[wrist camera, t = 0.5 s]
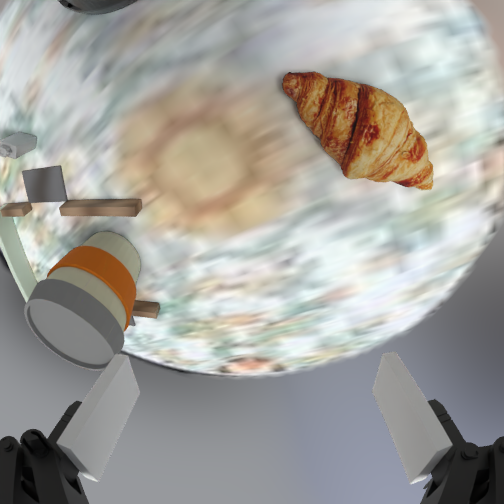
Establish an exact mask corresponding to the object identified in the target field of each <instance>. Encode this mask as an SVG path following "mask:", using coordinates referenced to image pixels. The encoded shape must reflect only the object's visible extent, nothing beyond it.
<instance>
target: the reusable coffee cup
mask: <svg viewBox="0 0 504 504" xmlns="http://www.w3.org/2000/svg"><path fill="white" fill-rule="evenodd" d="M140 267H141V263H140V258H139V255H138V253H137V251H136V249H135V248H134V247H133V245H132V244H131V243H130V242H129V241H128V240H127V239H125V238H124V237H122V236H120V235H118V234H116V233H113V232H107V231H103V232H98V233H96V234H94V235H93V236H91V237H90V238H89V239H88V240H87V241H86V242H85V243H83V244H82V245H81V246H79V247H76V248H74V249H72V250H71V251H70V252H69V253H68V254H67V255H65V256H64V257H63V258H62V259H61V260H60V261H59V262H58V263H57V264H56V265H55V266H54V267H53V268H52V269H50V271H49V273H48V275H47V278H46V279H45V280H42V281H40V282H39V283H38V284H37V285H36V286H35V288H34V290H33V292H32V294H31V295H30V297H29V299H28V301H27V303H26V305H25V309H24V313H25V318H26V320H27V323H28V325H29V327H30V329H31V330H32V332H33V333H34V334H35V335H36V337H37V338H38V339H39V340H40V341H41V342H42V343H43V345H45V346H46V347H47V348H48V349H49V350H50V351H52V352H53V353H54V354H56V355H57V356H59V357H60V358H62V359H63V360H65V361H67V362H69V363H71V364H74V365H75V366H78V367H81V368H84V369H87V370H93V371H104V370H105V368H106V367H107V366H108V364H109V363H110V361H111V360H112V358H113V357H114V356H115V354H119V353H120V351H121V349H122V347H123V345H124V334H123V333H124V331H125V330H126V329H127V327H128V326H129V322H130V318H131V314H132V310H133V305H134V301H135V298H136V282H137V279H138V275H139V272H140Z"/></svg>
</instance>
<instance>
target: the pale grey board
mask: <svg viewBox="0 0 504 504" xmlns="http://www.w3.org/2000/svg"><path fill="white" fill-rule="evenodd" d="M6 205H7V204H4V205H2V206H1V207H0V210H1V209H2V208H4V207H5V206H6ZM0 246H1V249H2V251H3V254H4V256H5V259H6V261H7V263H8V266H9V268H10V270H11V272H12V274H13V277H14V279H15V281H16V283H17V285H18V287H19V289H20V291H21V293H22V295H23V297H24V298H25V301H26V302H27V301H28V299H29V297H30V295H31V294H32V292H33V290H34V288H35V286H36V285H37V284H38V283H37V281H36V279H35V276H34V274H33V272H32V269H31V267H30V265H29V262H28V260H27V257H26V255H25V252H24V250H23V247H22V244H21V242H20V239H19V236H18V233H17V230H16V227H15V224H14V221H13V218H12V217H2V214H1V211H0Z"/></svg>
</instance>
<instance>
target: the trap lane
mask: <svg viewBox="0 0 504 504" xmlns="http://www.w3.org/2000/svg"><path fill="white" fill-rule="evenodd" d="M22 174H23V179H24V184H25V188H26V192H27V196H28V200H29V202H24V203H9V204H7V205H6V206H5V207H4V208H2V209H1V210H0V211H1V214H2V217H16V216H25V215H26V214H27V213H28V212H30V211H31V210H32V207H31V203H38V202H61V201H66V202H65V203H64V204H63V205H62V206H60V207H59V209H60V213H61V216H128V217H136V216H137V214H138V213H139V212H140V210H141V209H142V203H141V199H101V200H67V195H66V191H65V186H64V181H63V175H62V169H61V166H54V167H47V168H40V169H33V170H27V171H23V172H22ZM159 310H160V306H159V303H155V302H145V301H136V300H135V301H134V305H133V310H132V314H131V318H130V322H129V325H131V326H135V322H134V319H133V316H140V317H148V318H156V319H157V316H158V313H159Z"/></svg>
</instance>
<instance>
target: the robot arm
mask: <svg viewBox="0 0 504 504" xmlns="http://www.w3.org/2000/svg"><path fill="white" fill-rule="evenodd" d="M58 1H59V2H60V3H61V4H62V5H63V6H64V7H66V8H67V9H69V10H72V11H75V12H80V13H84V14H103V13H108V12H112V11H115V10H118V9H120V8H123V7H125V6H127V5H129V4H131V3H133V2H135V1H137V0H58ZM372 393H373V395H374V397H375V399H376V402H377V404H378V406H379V409H380V411H381V413H382V415H383V418H384V420H385V422H386V425H387V427H388V430H389V432H390V434H391V437H392V439H393V442H394V444H395V447H396V449H397V452H398V454H399V457H400V459H401V461H402V464H403V467H404V469H405V472H406V475H407V477H408V480H409V483H410V484H413V483H415V482H418V481H421V480H424V479H425V478H426V477H427V476H428V475H429V474H430V473H431V475H432V477H433V478H432V479H431V480H430V481H429V482H428V483H427V484H426V485H425V487H424V488H423V489H426V488H427V490H426V492H425V494H424V497H423V499H422V501H421V503H420V504H504V436H503V437H500V438H498V439H497V440H496V441H495V442H494V444H493V445H489V446H484V447H478V446H476V445H475V444H473V443H468V442H466V441H465V440H464V439H463V437H462V435H461V434H460V432H459V430H458V429H457V427H456V425H455V424H454V422H453V420H451V417H450V416H449V414H447V411H446V410H445V408H444V406H443V405H442V404H441V403H439V402H438V401H437V400H435V399H434V400H430V401H427V400H426V398H425V397H424V395H423V394H422V392H421V390H420V389H419V387H418V385H417V384H416V382H415V381H414V379H413V378H412V376H411V375H410V373H409V371H408V370H407V368H406V367H405V365H404V364H403V362H402V361H401V359H400V358H399V356H398V355H397V353H396V352H390V353H383V355H382V358H381V362H380V366H379V369H378V373H377V377H376V380H375V383H374V386H373V389H372ZM139 394H140V391H139V388H138V385H137V382H136V379H135V376H134V373H133V370H132V367H131V364H130V361H129V358H128V355H120V354H115V356H114V357H113V358H112V360H111V361H110V363H109V364H108V366H107V367H106V368H105V370H104V371H103V373H102V374H101V376H100V377H99V379H98V380H97V381H96V383H95V384H94V386H93V387H92V389H91V390H90V392H89V393H88V395H87V396H86V398H85V399H84V401H83V402H79V401H76V402H74V403H73V404H72V405H70V406H69V407H68V409H67V410H66V412H65V413H64V415H63V416H62V418H61V420H60V421H59V422H58V424H57V425H56V426H55V428H54V430H53V431H52V433H51V434H50V436H49V437H48V439H46V437H45V436H44V435H43V433H42V432H41V431H39V430H36V429H30V430H27V431H26V432H25V433H23V435H22V436H21V439H20V443H21V444H19V443H18V441H17V440H16V439H15V438H14V437H11V436H6V437H4V438H2V439H1V440H0V504H89V502H88V500H87V498H86V495H85V493H84V490H83V487H82V485H81V482H80V479H79V477H78V476H77V475H78V473H79V471H80V472H81V473H82V474H83V475H84V476H85V477H86V478H89V479H91V480H94V481H97V482H99V480H100V478H101V476H102V474H103V471H104V469H105V467H106V465H107V462H108V460H109V458H110V456H111V453H112V451H113V449H114V447H115V445H116V442H117V440H118V438H119V436H120V434H121V431H122V429H123V427H124V425H125V423H126V421H127V419H128V417H129V415H130V413H131V411H132V408H133V406H134V404H135V402H136V400H137V398H138V396H139Z"/></svg>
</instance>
